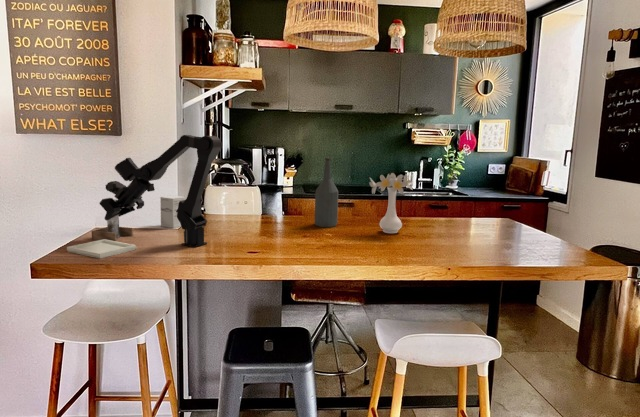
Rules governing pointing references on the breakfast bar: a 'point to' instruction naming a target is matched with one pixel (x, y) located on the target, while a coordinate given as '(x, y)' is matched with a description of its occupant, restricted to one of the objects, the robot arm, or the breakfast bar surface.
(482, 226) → the breakfast bar surface
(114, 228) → the pin
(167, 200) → the supplement box
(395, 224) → the flower vase
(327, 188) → the bottle
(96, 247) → the tray
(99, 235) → the brown u-shaped frame
